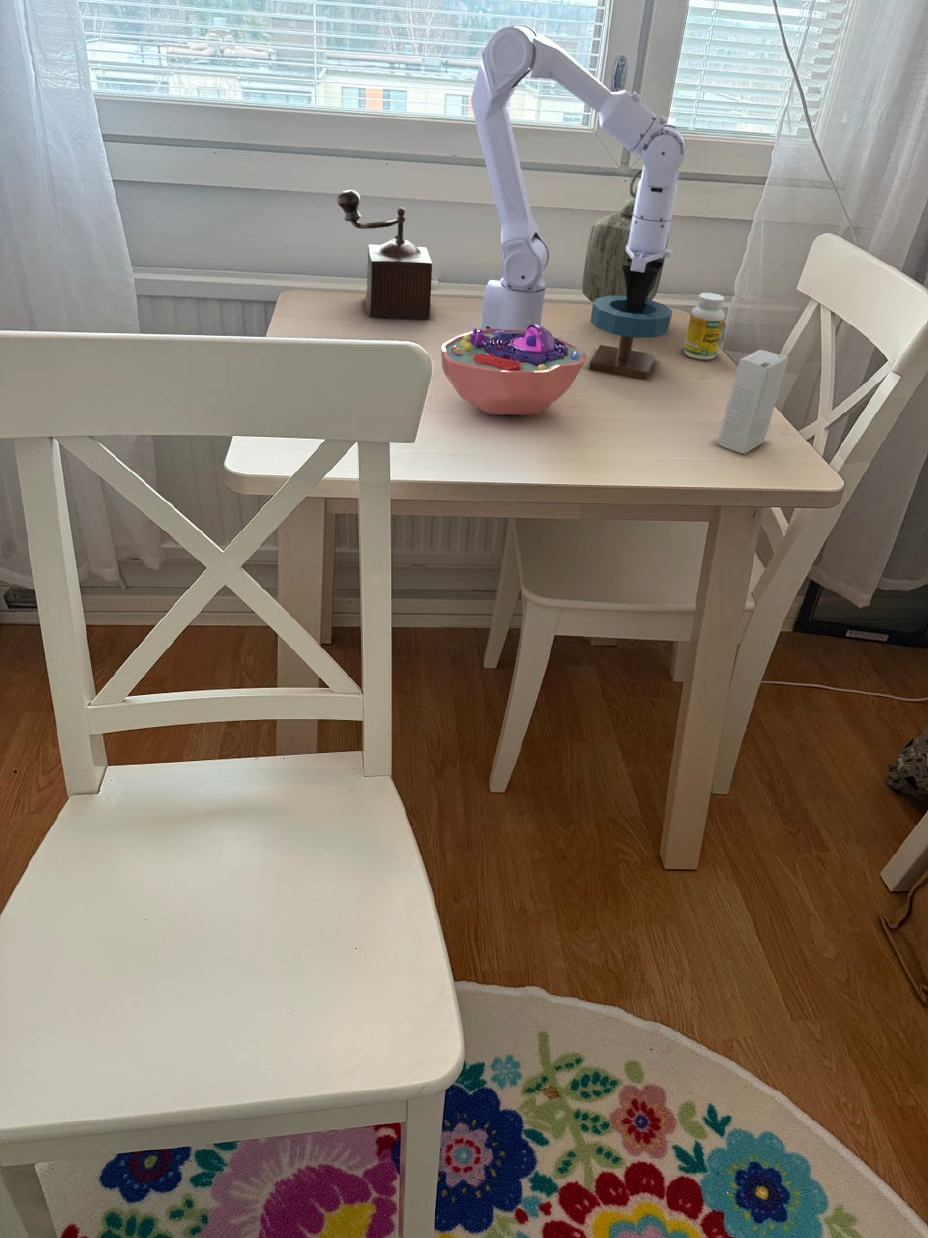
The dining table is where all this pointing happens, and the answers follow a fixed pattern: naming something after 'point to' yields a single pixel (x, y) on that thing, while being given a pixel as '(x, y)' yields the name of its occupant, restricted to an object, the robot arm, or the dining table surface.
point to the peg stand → (622, 360)
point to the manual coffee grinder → (393, 269)
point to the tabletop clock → (611, 253)
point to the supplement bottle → (705, 327)
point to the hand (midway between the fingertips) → (635, 308)
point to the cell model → (511, 368)
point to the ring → (630, 317)
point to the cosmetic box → (752, 401)
